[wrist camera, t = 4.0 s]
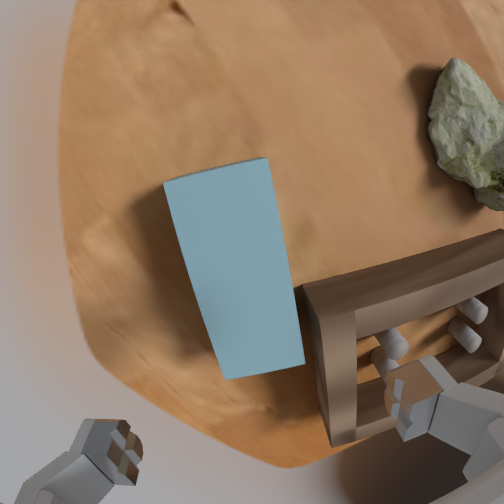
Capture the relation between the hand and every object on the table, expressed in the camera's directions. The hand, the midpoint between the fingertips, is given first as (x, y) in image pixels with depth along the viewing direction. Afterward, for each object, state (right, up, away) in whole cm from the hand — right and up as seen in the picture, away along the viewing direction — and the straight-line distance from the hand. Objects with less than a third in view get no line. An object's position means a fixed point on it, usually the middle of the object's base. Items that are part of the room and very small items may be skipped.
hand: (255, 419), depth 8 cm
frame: (+14, -1, +14) cm, 20 cm away
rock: (+17, +14, +9) cm, 24 cm away
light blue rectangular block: (-1, +4, +11) cm, 12 cm away
